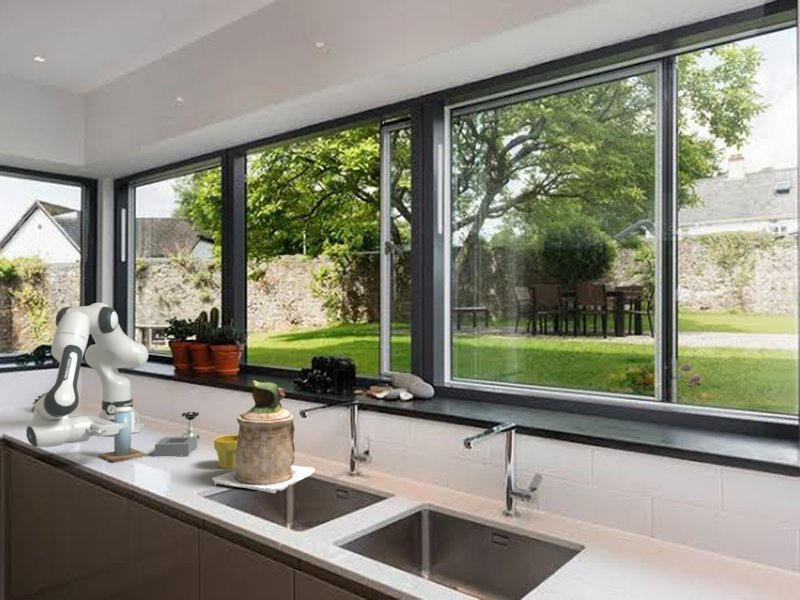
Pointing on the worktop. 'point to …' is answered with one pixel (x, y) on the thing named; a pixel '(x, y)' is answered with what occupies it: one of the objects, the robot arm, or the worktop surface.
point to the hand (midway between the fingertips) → (120, 422)
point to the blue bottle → (122, 431)
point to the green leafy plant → (37, 400)
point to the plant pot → (226, 450)
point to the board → (113, 458)
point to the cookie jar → (265, 445)
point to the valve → (190, 429)
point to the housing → (175, 446)
